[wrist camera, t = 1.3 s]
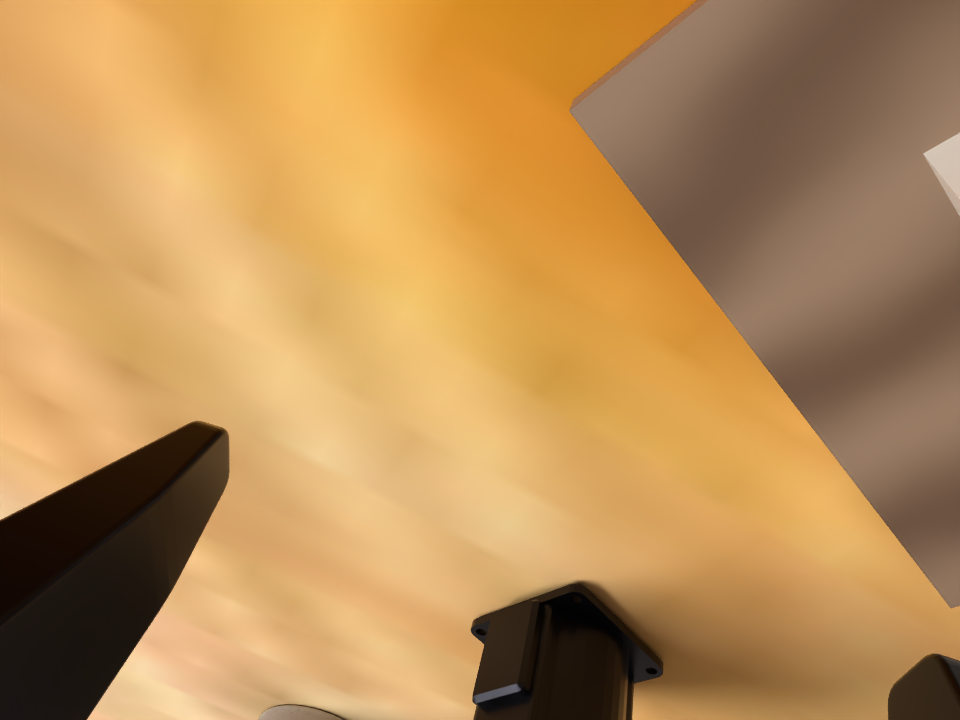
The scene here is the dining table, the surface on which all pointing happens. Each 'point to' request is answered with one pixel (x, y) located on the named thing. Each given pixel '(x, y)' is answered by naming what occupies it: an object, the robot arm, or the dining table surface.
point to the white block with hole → (947, 167)
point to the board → (818, 221)
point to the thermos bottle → (296, 713)
